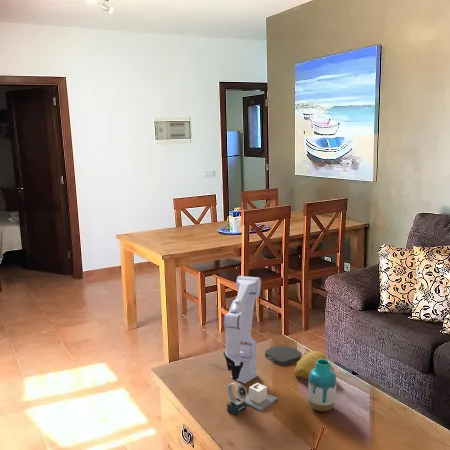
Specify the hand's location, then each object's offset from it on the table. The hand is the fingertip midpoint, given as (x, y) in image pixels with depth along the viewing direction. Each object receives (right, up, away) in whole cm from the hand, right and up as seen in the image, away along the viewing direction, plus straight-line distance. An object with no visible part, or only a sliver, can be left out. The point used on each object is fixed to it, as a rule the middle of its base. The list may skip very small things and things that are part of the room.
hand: (233, 374), depth 197 cm
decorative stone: (+34, -7, +17) cm, 39 cm away
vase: (+34, -11, -7) cm, 36 cm away
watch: (+1, -11, -8) cm, 14 cm away
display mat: (+10, -10, -1) cm, 14 cm away
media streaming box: (+24, -3, +37) cm, 44 cm away
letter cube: (+10, -9, -2) cm, 13 cm away
